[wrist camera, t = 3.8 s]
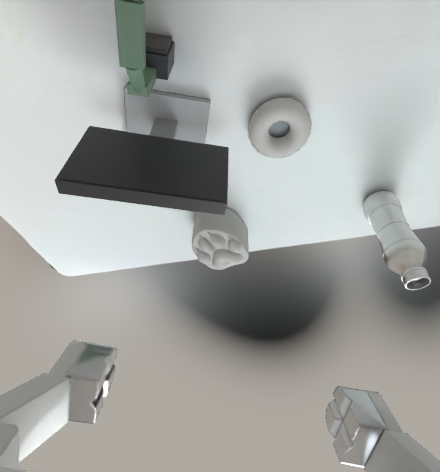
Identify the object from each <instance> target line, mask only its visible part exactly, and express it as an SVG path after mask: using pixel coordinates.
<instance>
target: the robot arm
mask: <svg viewBox="0 0 440 472" xmlns="http://www.w3.org/2000/svg"><path fill="white" fill-rule="evenodd" d="M116 355H117V348H115V347H110V346H105V345H100V344H95V343H90V342H84V341H79V340H73V341H72V342H71V343H70V344H69V345H68V347H67V348H66V350H65V351H64V352H63V354H62V355H61V357H60V358H59V360H58V361H57V362H56V364H55V365H54V366H53V368H52V369H51V371H50V372H49V373H48V374H47V373H43V374H41V375H39V376H38V377H35V378H33V379H32V380H30V381H28V382H26V383H24V384H22V385H20V386H18V387H16V388H14V389H13V390H10V391H8V392H7V393H5V394H3V395H1V396H0V472H32V471H26V470H19V462H20V461H21V460H23V459H24V458H25V457H26V456H27V455H29V454H30V453H31V452H32V451H34V450H35V449H36V448H37V447H38V446H39V445H41V444H42V443H43V442H44V441H46V440H47V439H48V438H49V437H50V436H52V435H53V434H54V433H55V432H57V431H58V430H59V429H60V428H61V427H63V426H64V425H65V424H66V423H67V422H68V421H74V422H82V423H90V424H95V422H96V420H97V417H98V415H99V413H100V410H101V408H102V405H103V398H104V397H105V396H107V395H108V392H109V390H110V387H111V384H112V381H113V377H114V372H115V366H114V364H113V363H114V361H115V358H116ZM333 395H334V398H335V399H334V400H333V401H331V402H329V404H328V407H327V409H326V423H327V427H328V430H329V432H330V433H331V434H332V435H333V436H334V437H335V440H334V443H333V445H334V447H335V450H336V453H337V456H338V459H339V462H340V463H342V464H347V465H353V466H358V467H363V468H364V470H365V471H366V472H440V461H439V460H438V459H437V458H436V457H434V456H433V455H432V454H431V453H430V452H429V451H427V450H426V449H425V448H424V447H423V446H422V445H420V444H419V443H418V442H417V441H416V440H414V439H413V438H412V437H411V436H410V435H409V434H407V433H403V431H402V430H401V428H400V426H399V425H398V423H397V421H396V420H395V418H394V416H393V414H392V413H391V411H390V409H389V408H388V406H387V404H386V403H385V401H384V399H383V397H382V396H381V395H380V394H379V393H378V392H373V391H367V390H359V389H353V388H347V387H341V386H338V387H336V388H335V390H334V392H333Z"/></svg>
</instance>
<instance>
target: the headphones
mask: <svg viewBox="0 0 440 472" xmlns="http://www.w3.org/2000/svg"><path fill="white" fill-rule="evenodd" d="M115 12H116V25H117V37H118V49H119V62H120V66H121V67H126V69H127V73H128V76H129V81H128V83H127V93H128V94H130V95H136V96H142V97H148V96H149V94H150V92H151V90H152V87H153V85H154V83H155V80H156V78H158V79H164V80H168V77H169V74H170V72H171V69H172V66H173V64H174V42H172V37H167V36H162V35H157V34H151V33H146V32H145V3H144V1H141V0H115Z"/></svg>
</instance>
